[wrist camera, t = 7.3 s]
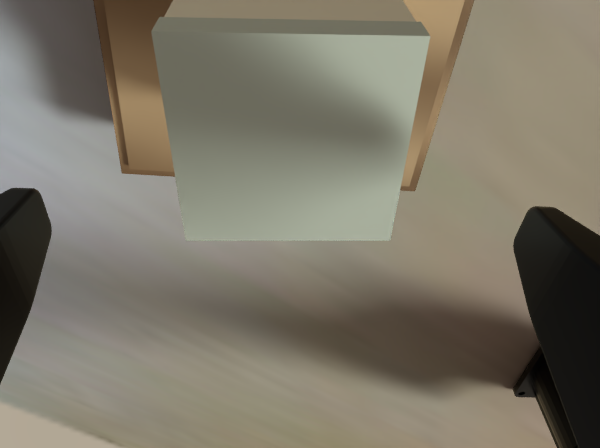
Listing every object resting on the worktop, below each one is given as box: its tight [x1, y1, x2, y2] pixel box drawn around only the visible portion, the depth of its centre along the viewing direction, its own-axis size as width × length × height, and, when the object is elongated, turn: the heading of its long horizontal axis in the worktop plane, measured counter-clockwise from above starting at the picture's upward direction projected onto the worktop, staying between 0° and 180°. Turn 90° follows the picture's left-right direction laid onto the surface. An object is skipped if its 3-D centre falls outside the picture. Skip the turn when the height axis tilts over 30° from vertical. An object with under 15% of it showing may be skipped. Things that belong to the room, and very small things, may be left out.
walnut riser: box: [93, 0, 474, 191], centre depth 18 cm, size 12×12×4 cm
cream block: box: [151, 0, 430, 241], centre depth 13 cm, size 5×5×7 cm
